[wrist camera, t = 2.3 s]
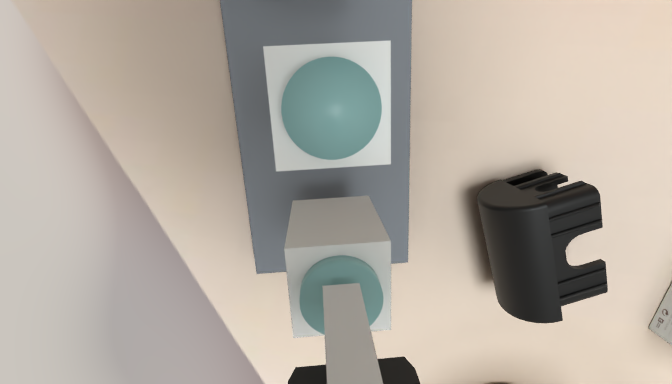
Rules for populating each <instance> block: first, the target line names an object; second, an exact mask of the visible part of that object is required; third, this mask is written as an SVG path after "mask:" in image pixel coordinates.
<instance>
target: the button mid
mask: <svg viewBox="0 0 672 384" xmlns="http://www.w3.org/2000/svg"><path fill="white" fill-rule="evenodd" d="M263 50H264V60H265V69H266V79H267V89H268V98H269V108H270V117H271V127H272V136H273V146H274V156H275V165H276V171H292V170H308V169H324V168H340V167H356V166H372V165H388V164H391V40H390V41H368V42H347V43H325V44H303V45H282V46H263Z"/></svg>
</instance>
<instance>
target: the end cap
mask: <svg viewBox="0 0 672 384" xmlns="http://www.w3.org/2000/svg"><path fill="white" fill-rule="evenodd" d="M567 181H568V176H565V175H563V174H561V173H553V174H550V175H547V172H545V171H542V170H534V171H531V172H527V173H524V174H521V175H518V176H515V177H512V178H509V179H506V180H503V181H502V180H498V181H496V182H493V183H491V184H489V185H487V186H486V187H484V188H483V189H482V190H481V191H480V192H479V194H478V197H477V201H478V206H479V211H480V216H481V221H482V226H483V231H484V236H485V241H486V246H487V251H488V256H489V261H490V266H491V271H492V275H493V280H494V285H495V290H496V295H497V299H498V302H499V304H500V305H501V307H502V308H503V309H504V310H505V311H506V312H508V313H509V314H511V315H512V316H514V317H516V318H519V319H521V320H525V321H528V322H534V323H554V322H558V321H562V320H563V319H562V312H561V306H564V305H567V304H570V303H573V302H577V301H580V300H583V299H586V298H590V297H593V296H596V295H599V294H603V293H606V292H607V290H608V288H607V276H606V264H605V262H604V261H603V260H601V259H599V260H596V261H593V262H590V263H586V264H583V265H579V266H571V265H569V264H568V263H567V260H566V252H565V250H566V247H567V246H568V244H569V243H570V242H571V240H572V239H574V238H575V237H577V236H578V235H580V234H583V233H586V232H589V231H593V230H596V229H599V228H602V215H601V202H600V194H599V192H598V190H597V189H596V188H595V187H594V186H592V185H590V184H587V183H585V182H583V181H578V182H575V183H572V184H569V185H566V186H563V187H560V188H558V186H557V185H558V184H561V183H564V182H567Z"/></svg>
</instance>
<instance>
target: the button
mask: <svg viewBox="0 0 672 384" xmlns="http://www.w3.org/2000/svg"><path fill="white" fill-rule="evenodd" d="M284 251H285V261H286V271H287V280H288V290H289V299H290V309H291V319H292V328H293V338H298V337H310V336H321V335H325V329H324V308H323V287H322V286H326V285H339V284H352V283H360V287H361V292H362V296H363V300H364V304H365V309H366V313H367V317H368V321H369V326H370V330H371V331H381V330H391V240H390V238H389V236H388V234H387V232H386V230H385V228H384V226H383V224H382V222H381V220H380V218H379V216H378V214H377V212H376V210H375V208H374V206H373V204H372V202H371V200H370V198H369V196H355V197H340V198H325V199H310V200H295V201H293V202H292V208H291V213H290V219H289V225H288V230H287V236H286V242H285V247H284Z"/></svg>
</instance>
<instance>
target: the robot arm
mask: <svg viewBox="0 0 672 384" xmlns="http://www.w3.org/2000/svg"><path fill="white" fill-rule="evenodd" d="M322 287H323V308H324V329H325V350H326V365H317V366H306V367H296V368H295V370H294V372H293V373H292V375H291V377H290V379H289V381H288V384H420V381H419V379H418V376H417V373H416V370H415V368H414V367H413V366H412V365H411V364H410V363H409V362H408V360H407V359H406V358H405V357H396V358H384V359H377V355H376V351H375V347H374V343H373V338H372V334H371V330H370V326H369V321H368V317H367V313H366V309H365V304H364V300H363V296H362V292H361V287H360V283H352V284H339V285H326V286H322Z"/></svg>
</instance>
